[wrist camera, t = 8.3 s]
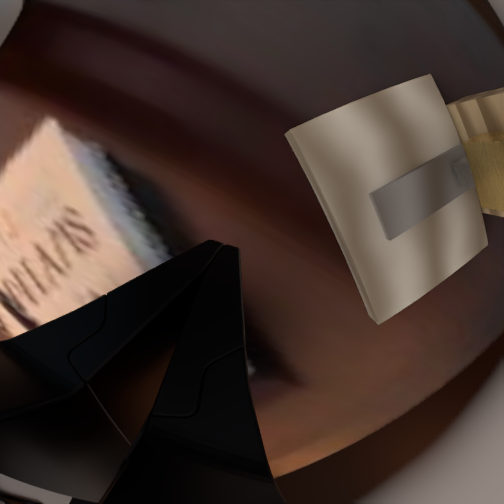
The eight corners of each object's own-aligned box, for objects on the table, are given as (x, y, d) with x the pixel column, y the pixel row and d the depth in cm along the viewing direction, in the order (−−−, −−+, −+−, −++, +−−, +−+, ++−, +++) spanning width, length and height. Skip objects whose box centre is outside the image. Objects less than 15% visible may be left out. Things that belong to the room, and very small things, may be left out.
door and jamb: (368, 314, 24) (432, 380, 14) (284, 134, 20) (330, 97, 10) (503, 216, 23) (573, 234, 13) (452, 68, 19) (525, 42, 10)
